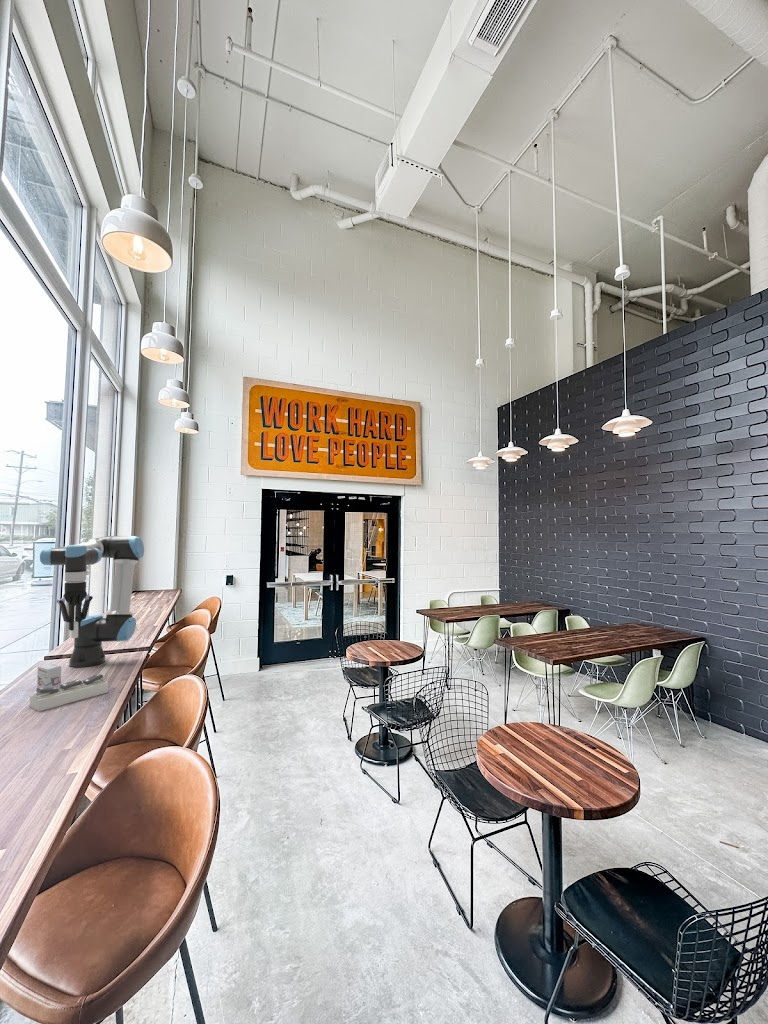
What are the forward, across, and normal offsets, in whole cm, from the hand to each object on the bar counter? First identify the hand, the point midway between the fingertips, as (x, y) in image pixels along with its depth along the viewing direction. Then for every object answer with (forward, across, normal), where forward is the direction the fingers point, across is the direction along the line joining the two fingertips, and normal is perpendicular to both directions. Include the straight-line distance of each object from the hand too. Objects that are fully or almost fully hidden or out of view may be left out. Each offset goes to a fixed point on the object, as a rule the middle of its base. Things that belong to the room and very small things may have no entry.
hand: (74, 637), depth 188 cm
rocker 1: (+15, +14, +12) cm, 24 cm away
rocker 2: (+16, +6, +12) cm, 21 cm away
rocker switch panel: (+21, +6, +13) cm, 25 cm away
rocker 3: (+16, -2, +13) cm, 20 cm away
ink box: (+21, +9, +1) cm, 23 cm away
